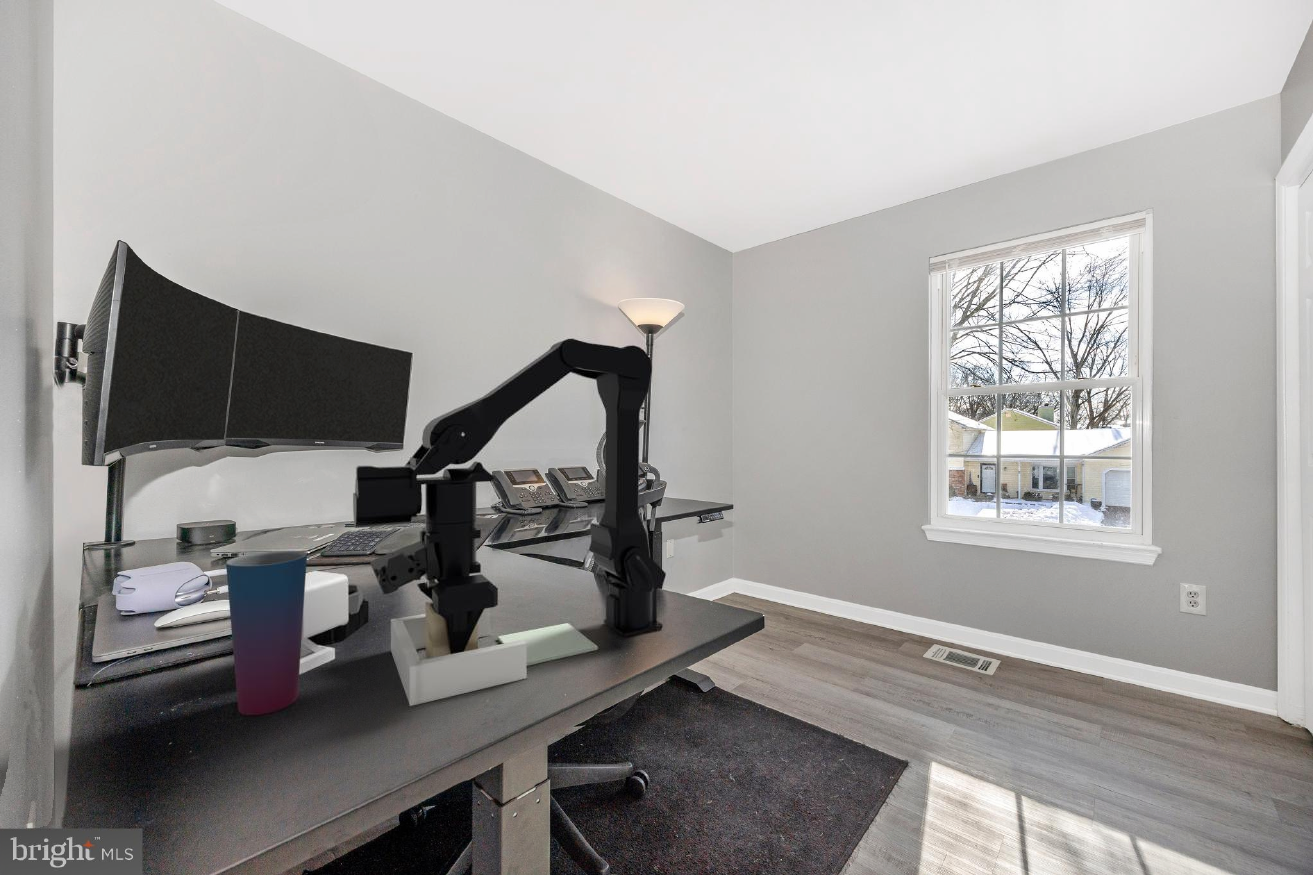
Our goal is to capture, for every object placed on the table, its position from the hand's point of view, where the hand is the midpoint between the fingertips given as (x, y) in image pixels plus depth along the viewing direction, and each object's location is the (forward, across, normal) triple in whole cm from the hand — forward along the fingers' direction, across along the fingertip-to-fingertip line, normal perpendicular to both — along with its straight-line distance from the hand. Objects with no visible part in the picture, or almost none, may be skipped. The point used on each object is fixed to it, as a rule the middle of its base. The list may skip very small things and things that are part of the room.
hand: (451, 649), depth 66 cm
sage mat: (+2, 0, +12) cm, 12 cm away
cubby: (+2, 0, 0) cm, 2 cm away
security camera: (+2, -10, -15) cm, 18 cm away
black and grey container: (+2, -20, -13) cm, 24 cm away
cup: (+2, 0, -18) cm, 18 cm away
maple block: (+2, 0, 0) cm, 2 cm away
